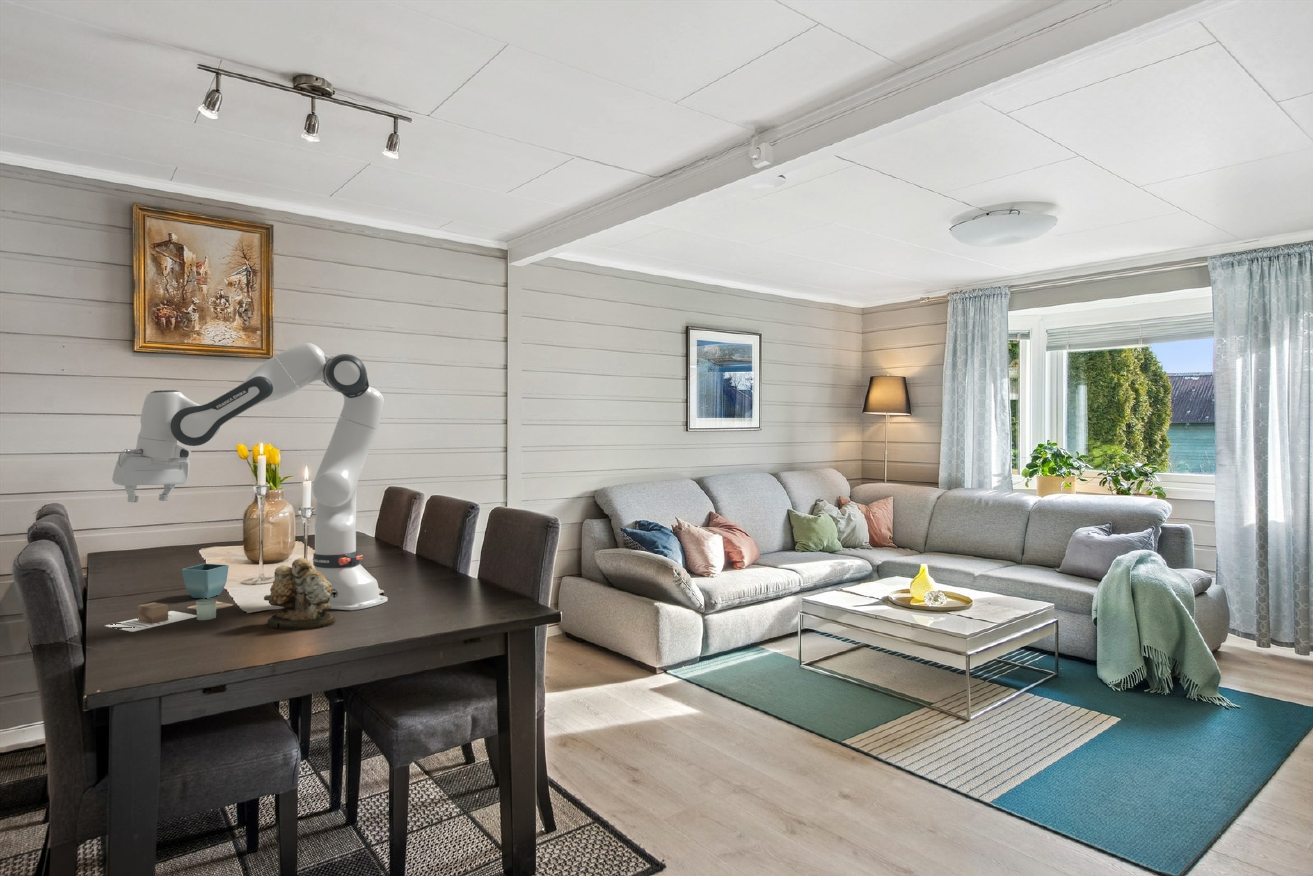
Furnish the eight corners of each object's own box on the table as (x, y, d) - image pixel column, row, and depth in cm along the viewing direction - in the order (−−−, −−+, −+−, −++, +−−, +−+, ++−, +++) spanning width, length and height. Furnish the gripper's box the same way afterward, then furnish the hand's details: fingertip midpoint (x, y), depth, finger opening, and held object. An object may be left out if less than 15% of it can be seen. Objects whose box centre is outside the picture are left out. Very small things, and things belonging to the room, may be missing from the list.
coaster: (233, 606, 214) (233, 604, 214) (205, 612, 207) (205, 610, 207) (214, 603, 218) (214, 601, 218) (187, 609, 210) (187, 607, 210)
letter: (199, 617, 202) (199, 615, 202) (132, 633, 187) (132, 631, 187) (172, 611, 208) (172, 610, 208) (104, 626, 192) (104, 625, 192)
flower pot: (207, 601, 220) (206, 570, 220) (181, 599, 222) (180, 568, 222) (229, 594, 229) (229, 564, 229) (204, 592, 231) (204, 563, 230)
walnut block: (168, 620, 198) (168, 605, 198) (152, 623, 194) (152, 608, 194) (154, 617, 200) (154, 602, 200) (138, 621, 197) (138, 605, 197)
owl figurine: (252, 629, 191) (252, 562, 191) (278, 618, 203) (277, 554, 203) (322, 630, 190) (322, 562, 190) (344, 618, 202) (343, 554, 202)
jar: (220, 618, 201) (220, 599, 201) (203, 622, 197) (203, 603, 197) (209, 616, 203) (209, 597, 203) (192, 620, 199) (192, 601, 199)
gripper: (130, 450, 190) (122, 505, 190) (196, 452, 210) (189, 501, 210) (110, 447, 192) (102, 501, 192) (177, 449, 212) (170, 498, 211)
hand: (148, 501), depth 201 cm, fingers open, 8 cm apart
